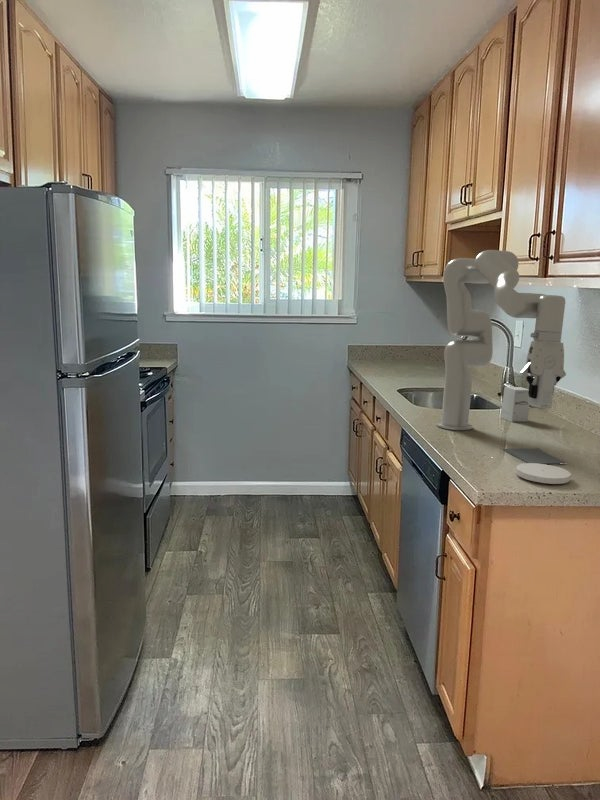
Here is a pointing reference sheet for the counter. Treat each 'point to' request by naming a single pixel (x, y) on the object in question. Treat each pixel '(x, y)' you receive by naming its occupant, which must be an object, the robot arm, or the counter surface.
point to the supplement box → (515, 404)
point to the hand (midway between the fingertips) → (540, 397)
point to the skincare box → (544, 390)
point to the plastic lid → (543, 473)
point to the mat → (533, 456)
